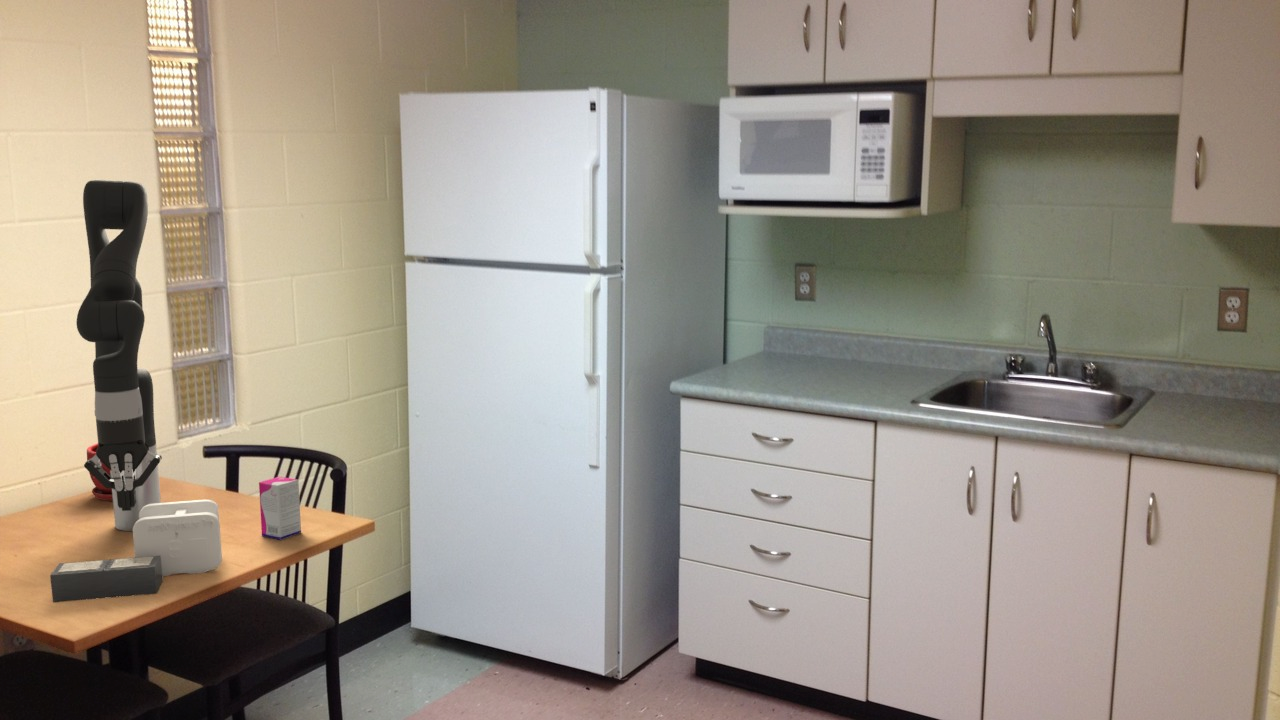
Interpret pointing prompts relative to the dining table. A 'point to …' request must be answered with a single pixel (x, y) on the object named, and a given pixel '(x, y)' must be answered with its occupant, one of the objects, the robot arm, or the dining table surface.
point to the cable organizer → (180, 536)
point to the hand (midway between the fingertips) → (127, 509)
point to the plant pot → (99, 490)
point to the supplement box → (280, 508)
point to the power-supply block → (106, 578)
